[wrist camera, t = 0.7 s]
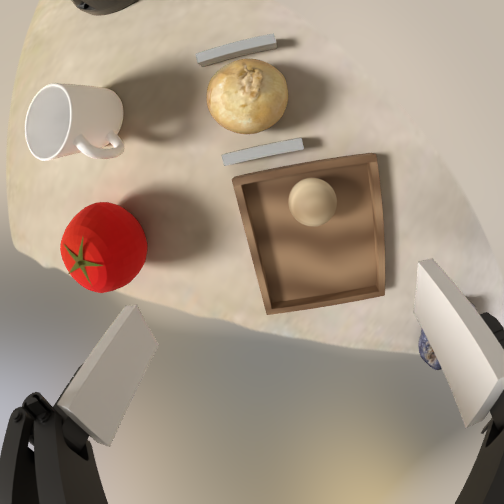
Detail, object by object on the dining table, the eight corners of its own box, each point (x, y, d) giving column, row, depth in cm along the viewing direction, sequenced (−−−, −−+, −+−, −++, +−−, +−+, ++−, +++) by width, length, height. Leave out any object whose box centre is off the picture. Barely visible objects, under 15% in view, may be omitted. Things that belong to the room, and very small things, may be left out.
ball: (283, 178, 29) (283, 187, 25) (328, 170, 28) (336, 178, 24) (292, 221, 31) (294, 237, 26) (335, 214, 30) (344, 228, 26)
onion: (288, 133, 27) (290, 133, 21) (216, 135, 28) (196, 137, 22) (286, 65, 24) (287, 46, 18) (214, 69, 25) (194, 53, 19)
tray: (234, 176, 30) (231, 179, 28) (370, 152, 27) (376, 154, 25) (267, 306, 37) (266, 314, 35) (380, 287, 34) (384, 295, 32)
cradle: (200, 58, 24) (195, 53, 23) (274, 39, 23) (273, 33, 21) (227, 163, 29) (224, 166, 28) (302, 148, 28) (303, 149, 26)
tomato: (145, 279, 37) (108, 325, 28) (89, 243, 36) (44, 277, 26) (170, 218, 33) (127, 256, 23) (106, 181, 32) (51, 204, 22)
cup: (98, 78, 26) (45, 71, 17) (157, 123, 28) (108, 124, 19) (70, 128, 29) (17, 137, 20) (122, 176, 31) (71, 196, 22)
